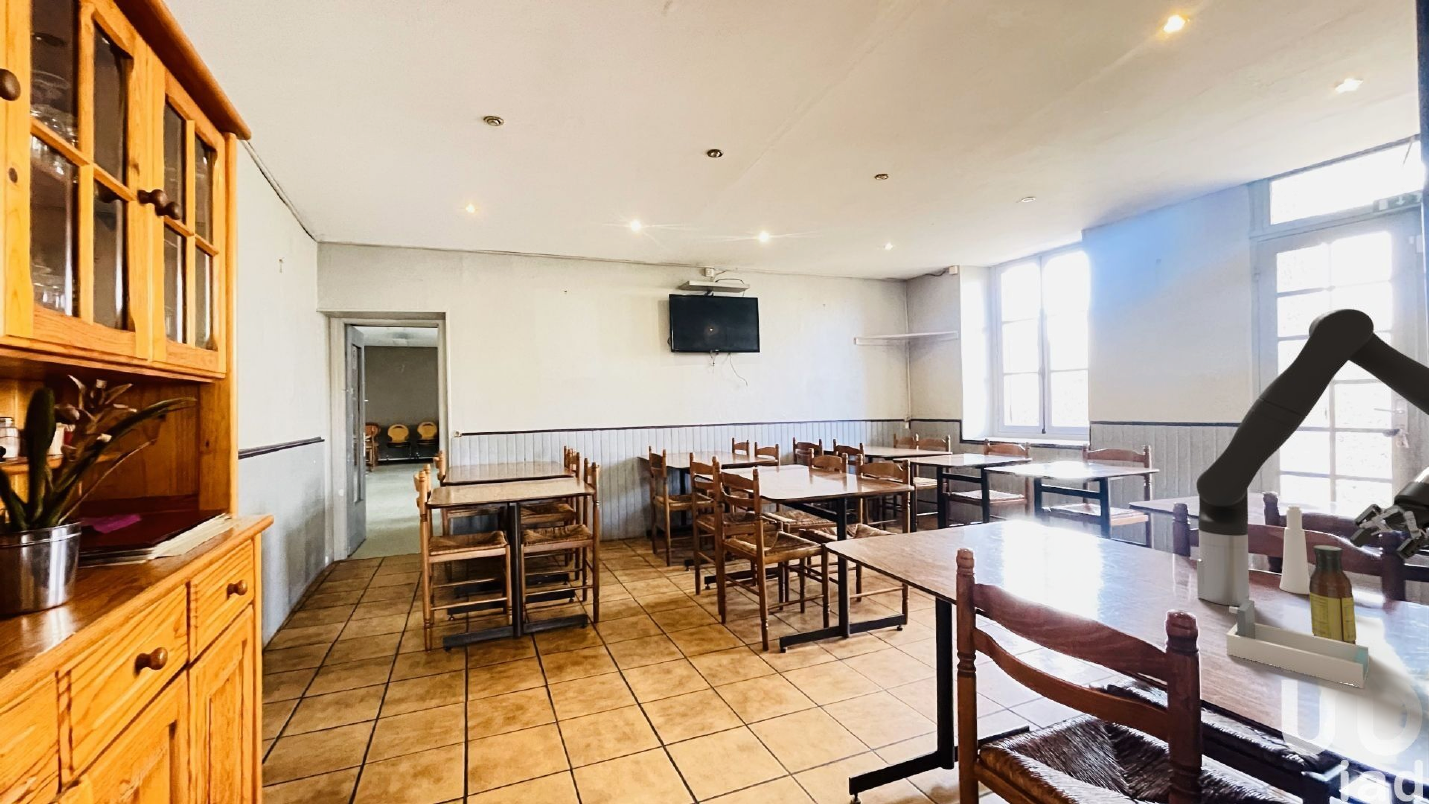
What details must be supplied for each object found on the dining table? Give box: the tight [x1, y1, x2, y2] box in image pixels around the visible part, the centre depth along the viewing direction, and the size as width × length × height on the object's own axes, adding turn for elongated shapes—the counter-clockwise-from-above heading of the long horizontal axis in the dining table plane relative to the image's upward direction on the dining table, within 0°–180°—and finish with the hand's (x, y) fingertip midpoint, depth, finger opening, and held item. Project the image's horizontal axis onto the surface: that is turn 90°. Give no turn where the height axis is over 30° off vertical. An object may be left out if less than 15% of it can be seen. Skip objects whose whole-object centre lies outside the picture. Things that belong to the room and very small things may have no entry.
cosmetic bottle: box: [1279, 504, 1310, 595], centre depth 149 cm, size 6×6×22 cm
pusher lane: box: [1225, 622, 1370, 690], centre depth 111 cm, size 18×12×4 cm, turn 38°
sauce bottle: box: [1308, 545, 1357, 645], centre depth 118 cm, size 7×6×20 cm
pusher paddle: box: [1228, 599, 1256, 639], centre depth 117 cm, size 3×9×8 cm, turn 128°
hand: (1377, 550), depth 117 cm, fingers open, 8 cm apart
